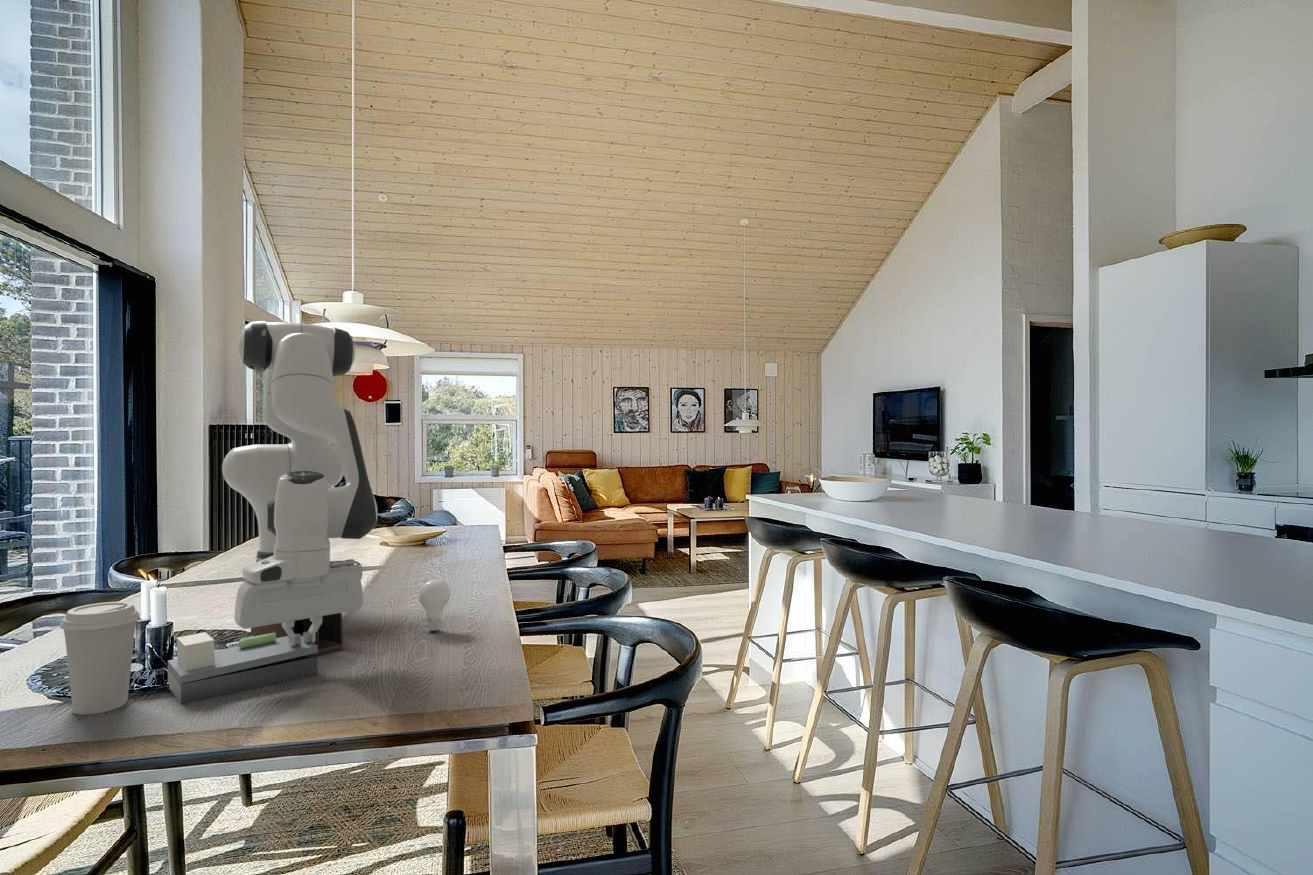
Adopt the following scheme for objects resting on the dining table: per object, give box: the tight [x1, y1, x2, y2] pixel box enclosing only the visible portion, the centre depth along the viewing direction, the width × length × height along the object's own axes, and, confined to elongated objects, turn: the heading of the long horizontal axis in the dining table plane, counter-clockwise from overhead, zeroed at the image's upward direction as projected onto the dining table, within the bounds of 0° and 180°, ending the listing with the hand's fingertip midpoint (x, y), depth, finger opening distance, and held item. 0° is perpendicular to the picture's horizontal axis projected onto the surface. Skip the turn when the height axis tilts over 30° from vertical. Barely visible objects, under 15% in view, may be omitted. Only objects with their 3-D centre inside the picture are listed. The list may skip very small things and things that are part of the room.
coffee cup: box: [59, 601, 141, 716], centre depth 107 cm, size 10×10×15 cm
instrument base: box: [167, 654, 319, 705], centre depth 119 cm, size 10×20×3 cm, turn 134°
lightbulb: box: [418, 578, 451, 633], centre depth 149 cm, size 6×6×11 cm
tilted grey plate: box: [167, 631, 318, 684], centre depth 119 cm, size 10×20×5 cm, turn 134°
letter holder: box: [250, 613, 344, 656], centre depth 139 cm, size 10×20×14 cm, turn 48°
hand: (302, 644), depth 123 cm, fingers closed
